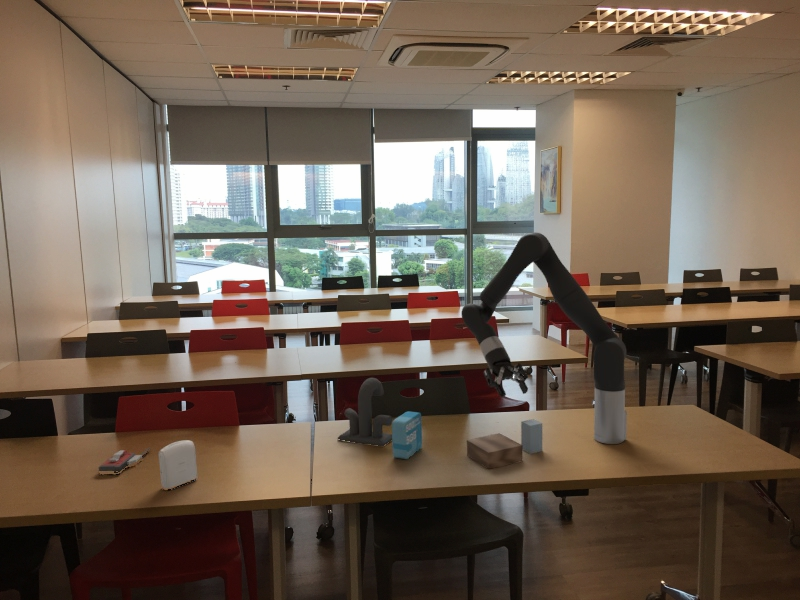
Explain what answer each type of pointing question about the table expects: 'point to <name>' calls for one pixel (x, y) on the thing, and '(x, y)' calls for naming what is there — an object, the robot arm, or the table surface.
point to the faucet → (367, 418)
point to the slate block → (531, 436)
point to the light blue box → (406, 434)
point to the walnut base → (494, 450)
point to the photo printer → (177, 463)
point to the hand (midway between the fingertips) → (515, 394)
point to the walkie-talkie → (120, 461)
